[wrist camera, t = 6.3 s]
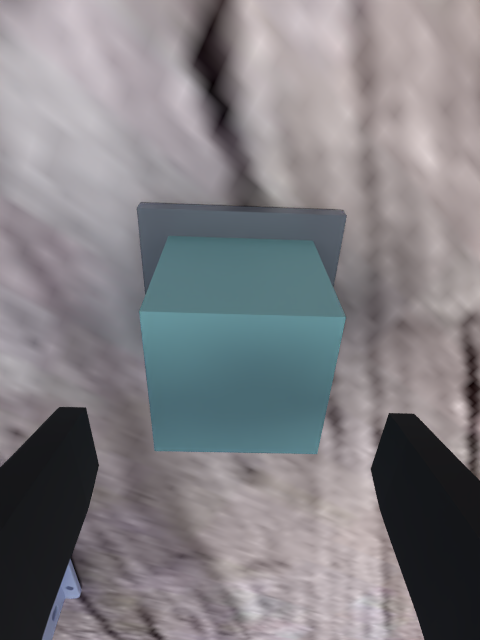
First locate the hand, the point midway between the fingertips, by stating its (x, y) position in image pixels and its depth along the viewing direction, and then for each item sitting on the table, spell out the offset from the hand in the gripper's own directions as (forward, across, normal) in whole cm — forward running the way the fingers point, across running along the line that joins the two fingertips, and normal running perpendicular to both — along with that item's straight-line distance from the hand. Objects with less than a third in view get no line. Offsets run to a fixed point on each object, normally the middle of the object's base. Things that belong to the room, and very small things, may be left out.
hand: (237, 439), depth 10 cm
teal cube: (+7, 0, 0) cm, 7 cm away
